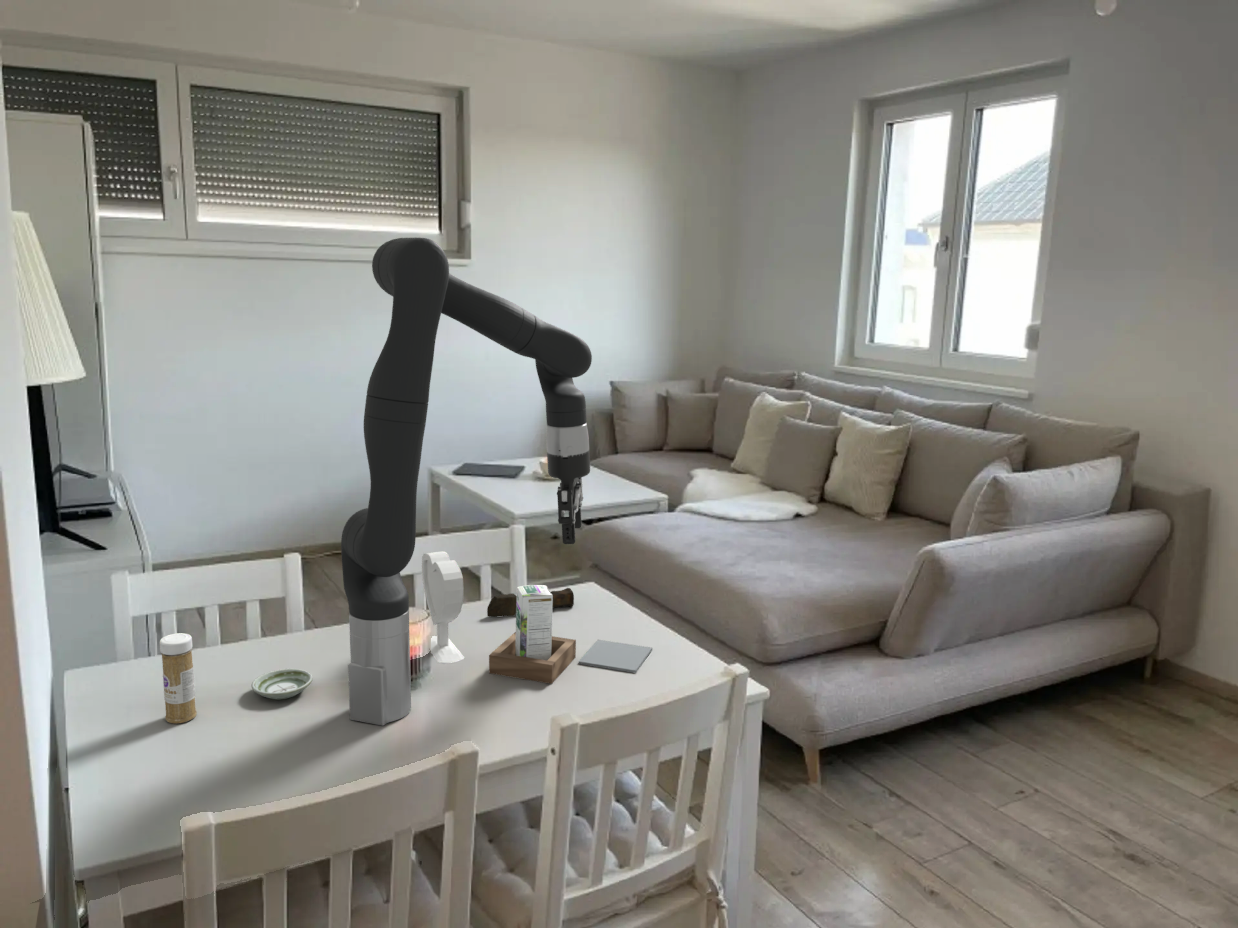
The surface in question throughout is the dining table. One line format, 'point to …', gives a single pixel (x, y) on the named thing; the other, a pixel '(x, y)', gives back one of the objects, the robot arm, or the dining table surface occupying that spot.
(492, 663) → the collar
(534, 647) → the white drink carton
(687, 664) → the dining table surface
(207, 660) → the dining table surface
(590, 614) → the dining table surface
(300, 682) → the saucer
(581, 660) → the mat
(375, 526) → the robot arm
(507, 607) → the hand tool
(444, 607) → the heart sculpture
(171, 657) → the sprinkles bottle
